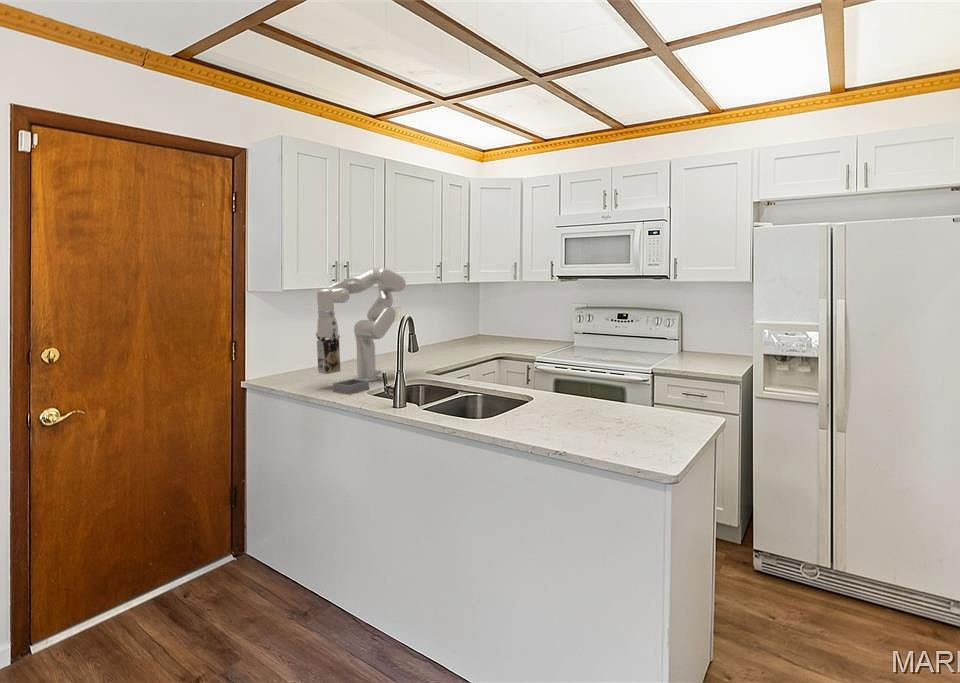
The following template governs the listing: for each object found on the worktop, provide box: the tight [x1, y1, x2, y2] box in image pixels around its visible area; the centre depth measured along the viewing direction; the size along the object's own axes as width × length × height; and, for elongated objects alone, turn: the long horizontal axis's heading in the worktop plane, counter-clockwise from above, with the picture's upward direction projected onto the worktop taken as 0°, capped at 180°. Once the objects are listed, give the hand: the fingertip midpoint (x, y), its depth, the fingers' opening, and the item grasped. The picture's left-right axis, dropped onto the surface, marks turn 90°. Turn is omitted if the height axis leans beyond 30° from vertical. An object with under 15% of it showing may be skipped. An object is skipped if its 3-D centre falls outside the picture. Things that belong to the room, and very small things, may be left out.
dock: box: [332, 378, 371, 395], centre depth 273 cm, size 14×11×4 cm
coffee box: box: [316, 338, 342, 375], centre depth 278 cm, size 9×6×16 cm
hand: (328, 350), depth 278 cm, fingers closed on coffee box, 6 cm apart
